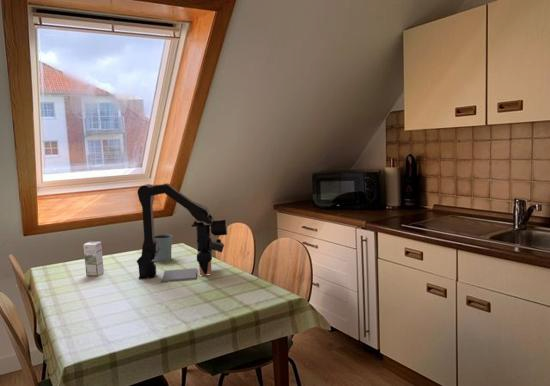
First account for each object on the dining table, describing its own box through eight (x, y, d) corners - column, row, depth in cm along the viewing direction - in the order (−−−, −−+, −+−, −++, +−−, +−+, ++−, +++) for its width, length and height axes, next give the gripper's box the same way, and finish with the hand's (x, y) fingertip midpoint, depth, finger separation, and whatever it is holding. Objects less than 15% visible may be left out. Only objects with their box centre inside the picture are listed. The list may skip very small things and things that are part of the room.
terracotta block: (199, 276, 191) (199, 264, 190) (200, 272, 196) (199, 261, 195) (211, 275, 192) (211, 263, 191) (211, 271, 197) (210, 260, 196)
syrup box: (104, 272, 202) (101, 241, 201) (98, 276, 197) (95, 244, 195) (92, 272, 203) (89, 241, 201) (85, 276, 197) (82, 244, 195)
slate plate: (161, 282, 184) (161, 280, 184) (164, 272, 198) (164, 270, 198) (196, 279, 186) (195, 277, 186) (196, 269, 200) (196, 268, 200)
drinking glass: (150, 259, 222) (148, 235, 220) (171, 256, 226) (169, 233, 225) (154, 264, 213) (152, 239, 211) (175, 261, 217) (173, 236, 215)
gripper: (223, 239, 184) (225, 276, 186) (221, 230, 202) (223, 264, 204) (195, 241, 182) (197, 278, 184) (196, 232, 201) (198, 266, 202)
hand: (205, 271), depth 194 cm, fingers open, 8 cm apart
